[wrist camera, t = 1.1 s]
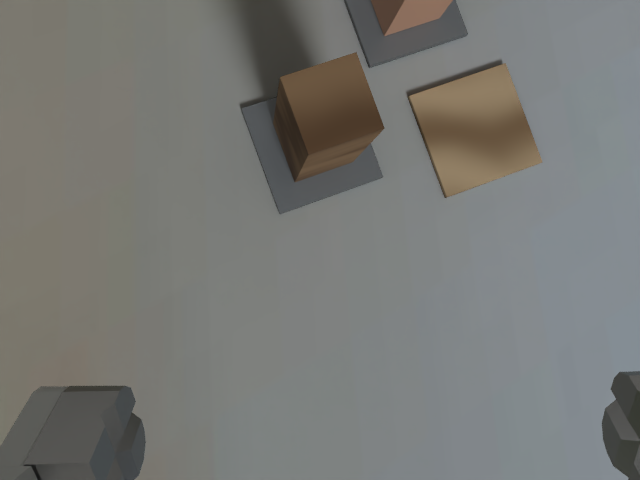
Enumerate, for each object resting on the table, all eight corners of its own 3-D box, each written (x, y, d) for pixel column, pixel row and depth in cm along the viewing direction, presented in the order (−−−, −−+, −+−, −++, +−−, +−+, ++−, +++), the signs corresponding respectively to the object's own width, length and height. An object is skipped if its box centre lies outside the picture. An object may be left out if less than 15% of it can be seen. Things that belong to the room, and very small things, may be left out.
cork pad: (407, 97, 43) (409, 95, 43) (503, 65, 44) (505, 63, 44) (445, 198, 43) (446, 197, 43) (539, 163, 44) (542, 162, 44)
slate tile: (332, -33, 43) (332, -37, 43) (429, -62, 44) (431, -66, 44) (369, 67, 43) (370, 65, 43) (465, 36, 44) (468, 33, 44)
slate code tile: (241, 110, 42) (241, 108, 41) (344, 76, 43) (345, 73, 42) (279, 214, 42) (280, 213, 41) (381, 177, 43) (383, 176, 42)
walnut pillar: (273, 123, 42) (280, 77, 32) (331, 103, 42) (356, 52, 32) (294, 182, 42) (308, 154, 32) (352, 161, 42) (384, 128, 32)
